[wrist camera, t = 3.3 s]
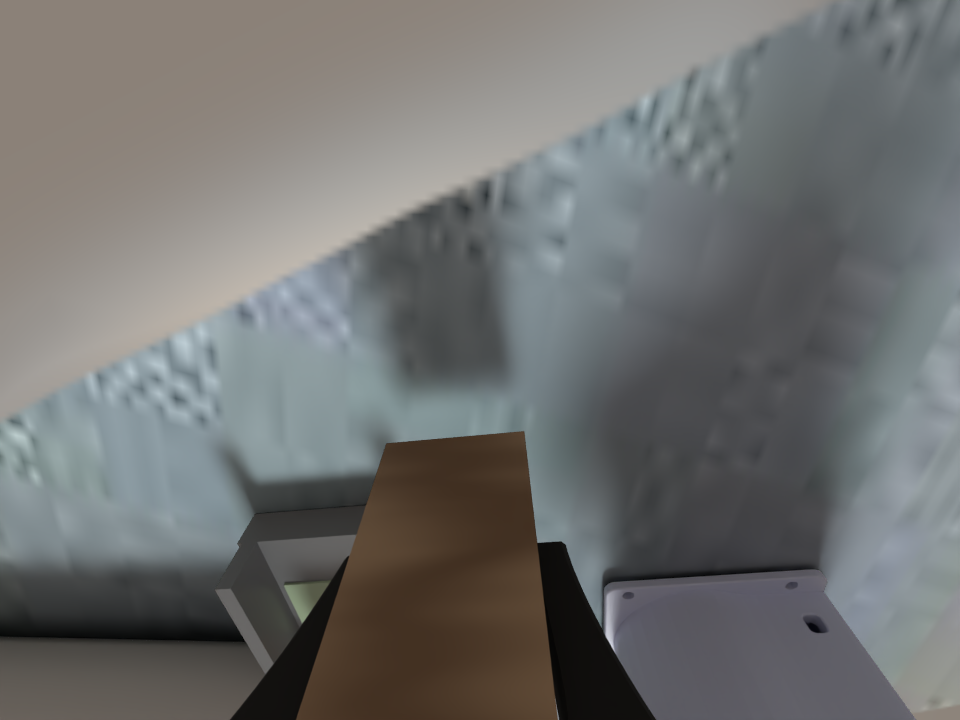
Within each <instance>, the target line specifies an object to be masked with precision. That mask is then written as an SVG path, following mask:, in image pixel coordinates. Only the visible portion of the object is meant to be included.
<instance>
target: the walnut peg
mask: <svg viewBox="0 0 960 720" xmlns="http://www.w3.org/2000/svg"><path fill="white" fill-rule="evenodd" d="M296 720H558V719H557V710H556V701H555V693H554V684H553V676H552V667H551V658H550V650H549V641H548V632H547V624H546V615H545V606H544V598H543V589H542V581H541V572H540V563H539V555H538V546H537V537H536V529H535V520H534V512H533V503H532V494H531V486H530V477H529V468H528V460H527V451H526V442H525V434H524V431H521V432H510V433H499V434H487V435H476V436H465V437H453V438H442V439H431V440H420V441H408V442H397V443H386V446H385V449H384V452H383V455H382V459H381V462H380V465H379V468H378V471H377V474H376V477H375V480H374V483H373V486H372V489H371V492H370V495H369V498H368V501H367V504H366V507H365V510H364V513H363V517H362V520H361V523H360V526H359V529H358V532H357V535H356V538H355V541H354V544H353V547H352V550H351V553H350V556H349V559H348V562H347V565H346V568H345V572H344V575H343V578H342V581H341V584H340V587H339V590H338V593H337V596H336V599H335V602H334V605H333V608H332V611H331V614H330V617H329V620H328V623H327V626H326V630H325V633H324V636H323V639H322V642H321V645H320V648H319V651H318V654H317V657H316V660H315V663H314V666H313V669H312V672H311V675H310V678H309V681H308V685H307V688H306V691H305V694H304V697H303V700H302V703H301V706H300V709H299V712H298V715H297V718H296Z"/></svg>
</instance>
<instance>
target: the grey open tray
mask: <svg viewBox="0 0 960 720" xmlns="http://www.w3.org/2000/svg"><path fill="white" fill-rule="evenodd" d="M365 507H366V505H364V506H351V507H338V508H326V509H313V510H300V511H288V512H275V513H262V514H255V515H254V517H253V518H252V520H251V521H250V523H249V525H248V526H247V528H246V530H245V531H244V533H243V535H242V536H241V538H240V540H239V541H238V543H237V544H238V546H239V549H238V551H237V553H236V554H235V556H234V558H233V559H232V561H231V563H230V564H229V566H228V568H227V569H226V571H225V573H224V575H223V576H222V578H221V580H220V581H219V583H218V585H217V586H216V588H215V591H216V593H217V595H218V596H219V598H220V600H221V601H222V603H223V605H224V606H225V608H226V610H227V611H228V613H229V615H230V616H231V618H232V620H233V621H234V623H235V625H236V626H237V628H238V630H239V631H240V633H241V635H242V636H243V638H244V640H245V641H246V643H247V645H248V646H249V648H250V650H251V651H252V653H253V655H254V656H255V658H256V660H257V661H258V663H259V665H260V666H261V668H262V670H263V671H264V673H265V674H266V673H267V672H268V670H269V669H270V668H271V666H272V665H273V664H274V662H275V661H276V660H277V658H278V657H279V656H280V654H281V653H282V652H283V650H284V649H285V648H286V646H287V645H288V643H289V642H290V640H291V639H292V638H293V636H294V635H295V633H296V632H297V630H298V629H299V628H300V626H301V625H302V623H303V622H304V620H305V619H306V618H307V616H308V615H309V613H310V612H311V610H312V609H313V607H314V606H315V604H316V603H317V601H318V600H319V598H320V597H321V595H322V594H323V592H324V591H325V589H326V588H327V586H328V584H329V583H330V581H331V580H332V578H333V577H334V575H335V574H336V572H337V571H338V569H339V567H340V566H341V564H342V563H343V561H344V560H345V559H346V557H347V556H350V553H351V550H352V547H353V544H354V541H355V538H356V535H357V532H358V529H359V526H360V523H361V520H362V517H363V513H364V510H365Z"/></svg>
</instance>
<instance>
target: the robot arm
mask: <svg viewBox="0 0 960 720" xmlns="http://www.w3.org/2000/svg"><path fill="white" fill-rule="evenodd" d="M537 546H538V555H539V563H540V572H541V581H542V589H543V598H544V606H545V615H546V624H547V632H548V641H549V650H550V658H551V667H552V676H553V684H554V693H555V699H556V704H557V710H558V715H559V720H916V719H915V718H914V716H913V715H912V713H911V712H910V711H909V709H908V708H907V706H906V705H905V704H904V702H903V701H902V700H901V698H900V697H899V695H898V694H897V693H896V691H895V690H894V688H893V687H892V686H891V684H890V683H889V681H888V680H887V679H886V677H885V676H884V675H883V673H882V672H881V670H880V669H879V668H878V666H877V665H876V663H875V662H874V661H873V659H872V658H871V657H870V655H869V654H868V652H867V651H866V650H865V648H864V647H863V645H862V644H861V643H860V641H859V640H858V639H857V637H856V636H855V634H854V633H853V632H852V630H851V629H850V627H849V626H848V625H847V623H846V622H845V621H844V619H843V618H842V616H841V615H840V614H839V612H838V611H837V609H836V608H835V607H834V605H833V604H832V603H831V601H830V600H829V598H828V597H827V596H826V594H825V593H824V590H825V587H826V584H827V579H826V577H825V576H824V575H823V573H822V572H821V571H819V570H815V569H809V570H793V571H777V572H762V573H746V574H730V575H715V576H699V577H683V578H668V579H652V580H636V581H621V582H612V583H609V584H607V585H606V586H605V588H604V632H603V630H602V628H601V626H600V624H599V622H598V620H597V618H596V616H595V615H594V613H593V611H592V609H591V607H590V605H589V603H588V600H587V598H586V596H585V594H584V592H583V590H582V587H581V585H580V583H579V581H578V578H577V576H576V574H575V571H574V569H573V566H572V563H571V560H570V558H569V555H568V552H567V548H566V545H565V544H564V543H562V542H561V541H560V542H545V543H537ZM348 559H349V556H347V557H346V559H345V560H344V561H343V563H342V564H341V566H340V567H339V569H338V571H337V572H336V574H335V575H334V577H333V578H332V580H331V581H330V583H329V584H328V586H327V588H326V589H325V591H324V592H323V594H322V595H321V597H320V598H319V600H318V601H317V603H316V604H315V606H314V607H313V609H312V610H311V612H310V613H309V615H308V616H307V618H306V619H305V620H304V622H303V623H302V625H301V626H300V628H299V629H298V630H297V632H296V633H295V635H294V636H293V638H292V639H291V640H290V642H289V643H288V645H287V646H286V648H285V649H284V650H283V652H282V653H281V654H280V656H279V657H278V658H277V660H276V661H275V662H274V664H273V665H272V666H271V668H270V669H269V670H268V672H267V673H266V674H265V676H264V677H263V678H262V680H261V681H260V682H259V684H258V685H257V686H256V688H255V689H254V690H253V691H252V693H251V694H250V695H249V696H248V698H247V699H246V700H245V701H244V703H243V704H242V705H241V706H240V708H239V709H238V710H237V711H236V713H235V714H234V715H233V716H232V717H231V719H230V720H296V718H297V715H298V712H299V709H300V706H301V703H302V700H303V697H304V694H305V691H306V688H307V685H308V681H309V678H310V675H311V672H312V669H313V666H314V663H315V660H316V657H317V654H318V651H319V648H320V645H321V642H322V639H323V636H324V633H325V630H326V626H327V623H328V620H329V617H330V614H331V611H332V608H333V605H334V602H335V599H336V596H337V593H338V590H339V587H340V584H341V581H342V578H343V575H344V572H345V568H346V565H347V562H348Z"/></svg>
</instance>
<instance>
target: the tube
mask: <svg viewBox="0 0 960 720" xmlns="http://www.w3.org/2000/svg"><path fill="white" fill-rule="evenodd" d="M264 676H265V673H264V671H263V670H262V668H261V666H260V665H259V663H258V661H257V660H256V658H255V656H254V655H253V653H252V651H251V650H250V648H249V646H248V645H247V643H246V642H227V641H181V640H135V639H90V638H44V637H0V720H230V719H231V717H232V716H233V715H234V714H235V713H236V711H237V710H238V709H239V708H240V706H241V705H242V704H243V703H244V701H245V700H246V699H247V698H248V696H249V695H250V694H251V693H252V691H253V690H254V689H255V688H256V686H257V685H258V684H259V682H260V681H261V680H262V678H263V677H264Z"/></svg>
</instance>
